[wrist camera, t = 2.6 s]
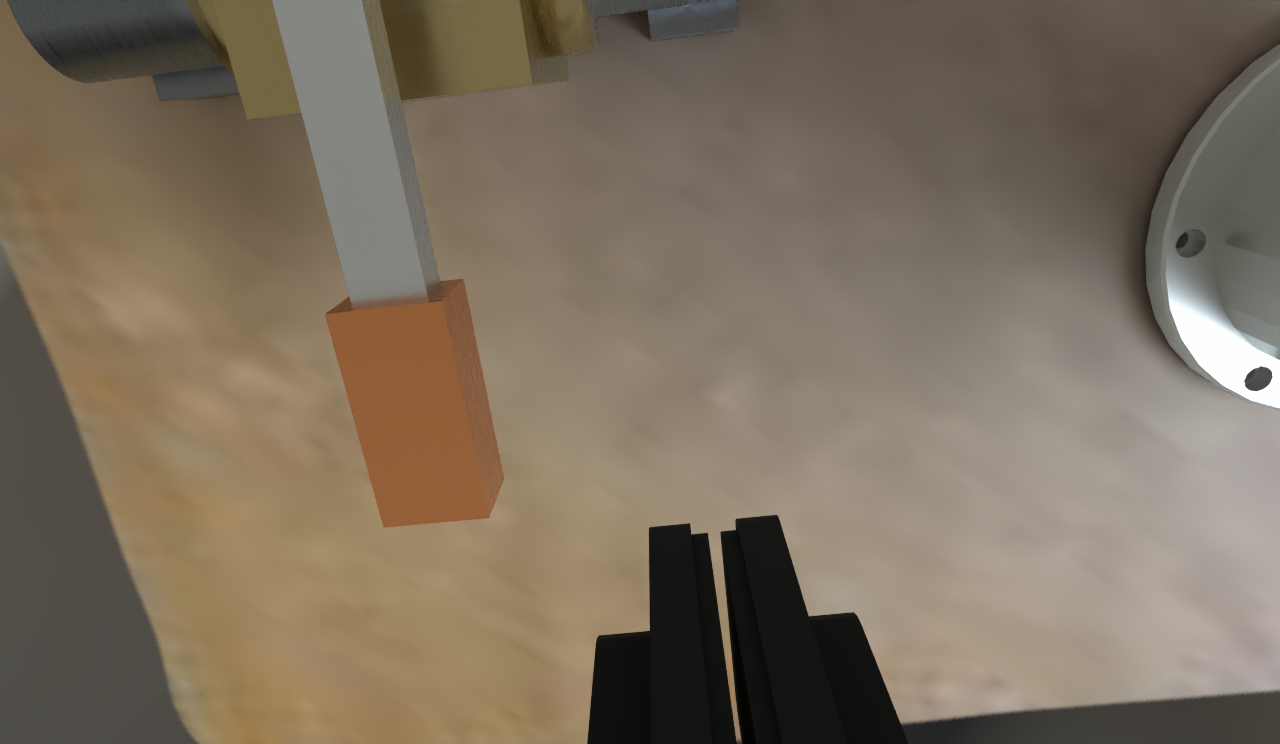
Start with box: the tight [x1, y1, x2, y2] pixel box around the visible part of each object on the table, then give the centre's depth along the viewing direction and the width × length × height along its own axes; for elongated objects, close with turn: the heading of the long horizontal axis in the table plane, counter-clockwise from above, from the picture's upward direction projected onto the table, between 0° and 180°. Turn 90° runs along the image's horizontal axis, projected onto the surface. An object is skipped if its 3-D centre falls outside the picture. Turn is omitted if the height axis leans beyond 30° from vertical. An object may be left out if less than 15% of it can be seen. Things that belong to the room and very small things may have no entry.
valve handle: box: [272, 0, 504, 527], centre depth 16 cm, size 13×3×2 cm, turn 7°
